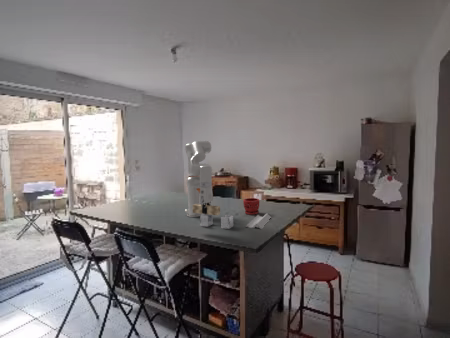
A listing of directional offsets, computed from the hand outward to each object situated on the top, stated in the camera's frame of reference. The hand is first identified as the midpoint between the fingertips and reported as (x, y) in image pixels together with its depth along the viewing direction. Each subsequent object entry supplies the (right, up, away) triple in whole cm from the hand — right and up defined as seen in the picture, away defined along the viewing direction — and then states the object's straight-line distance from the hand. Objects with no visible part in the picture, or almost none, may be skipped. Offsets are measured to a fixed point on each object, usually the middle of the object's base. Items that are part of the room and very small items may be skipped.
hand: (206, 212), depth 181 cm
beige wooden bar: (0, -1, 0) cm, 1 cm away
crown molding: (+37, -11, +22) cm, 45 cm away
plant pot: (+34, -9, +50) cm, 61 cm away
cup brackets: (+6, -12, +14) cm, 19 cm away
